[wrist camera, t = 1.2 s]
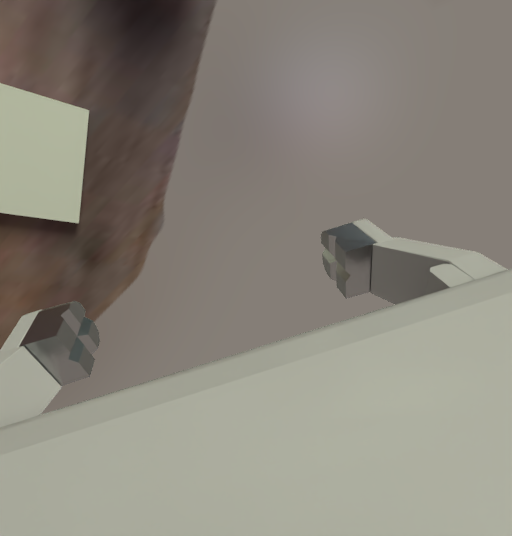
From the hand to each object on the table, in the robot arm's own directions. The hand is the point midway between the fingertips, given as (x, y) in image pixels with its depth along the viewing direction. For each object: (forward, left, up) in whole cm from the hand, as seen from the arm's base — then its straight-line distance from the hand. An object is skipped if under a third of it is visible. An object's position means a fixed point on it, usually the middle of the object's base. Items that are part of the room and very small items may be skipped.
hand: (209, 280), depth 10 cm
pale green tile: (-12, -3, -39) cm, 41 cm away
